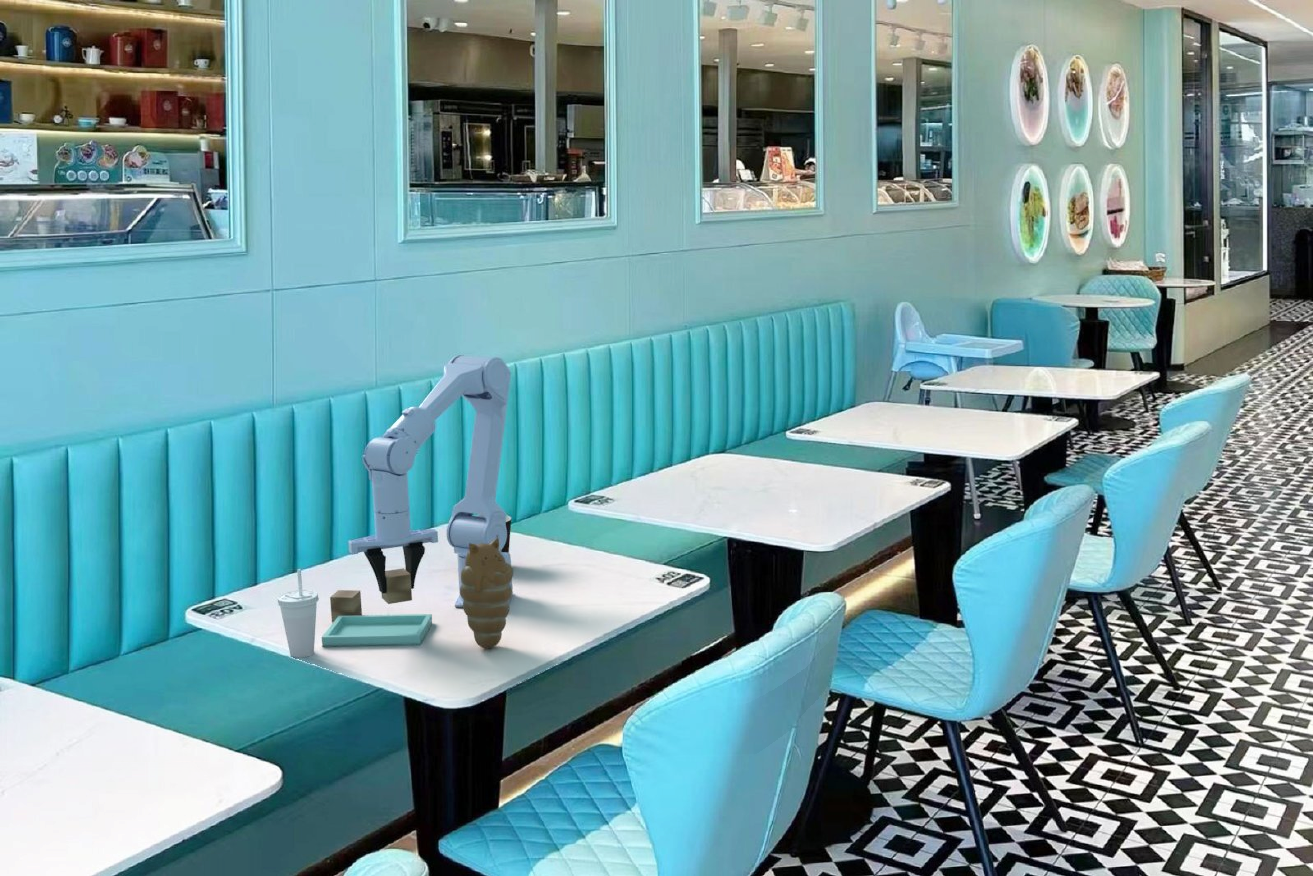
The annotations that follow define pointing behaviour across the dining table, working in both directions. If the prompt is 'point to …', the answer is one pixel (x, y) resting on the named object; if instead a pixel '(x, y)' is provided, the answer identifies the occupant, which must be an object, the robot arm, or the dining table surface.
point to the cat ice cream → (486, 592)
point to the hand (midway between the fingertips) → (396, 589)
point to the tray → (377, 630)
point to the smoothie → (299, 619)
